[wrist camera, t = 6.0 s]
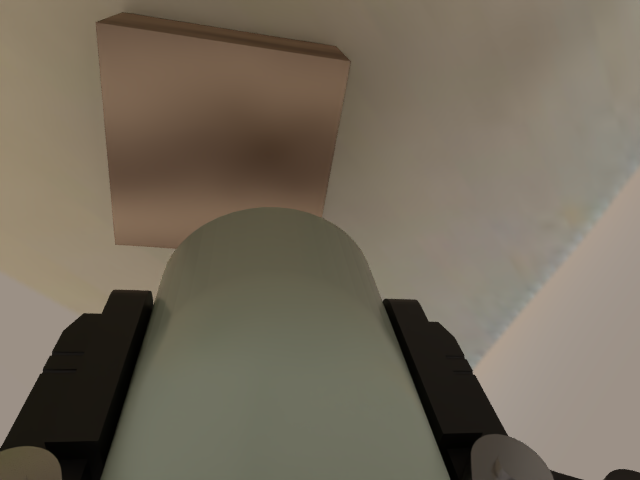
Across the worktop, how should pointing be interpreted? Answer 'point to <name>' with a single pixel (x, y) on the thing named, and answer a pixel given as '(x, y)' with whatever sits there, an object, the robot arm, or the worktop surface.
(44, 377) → the robot arm
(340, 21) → the worktop surface
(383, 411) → the jar
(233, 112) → the plinth
